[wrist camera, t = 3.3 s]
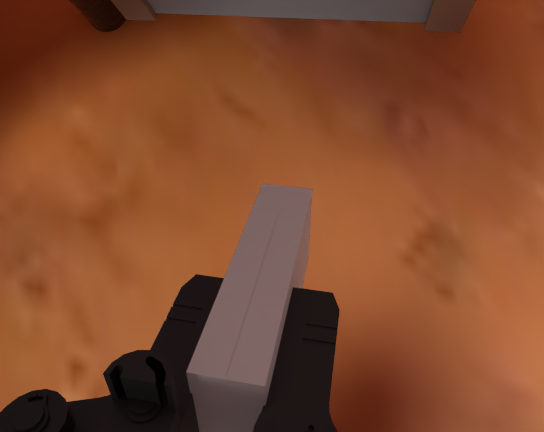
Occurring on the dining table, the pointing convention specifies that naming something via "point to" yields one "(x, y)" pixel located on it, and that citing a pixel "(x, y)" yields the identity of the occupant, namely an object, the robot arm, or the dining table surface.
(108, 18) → the gate posts
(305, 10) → the gate leaf
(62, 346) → the dining table surface
